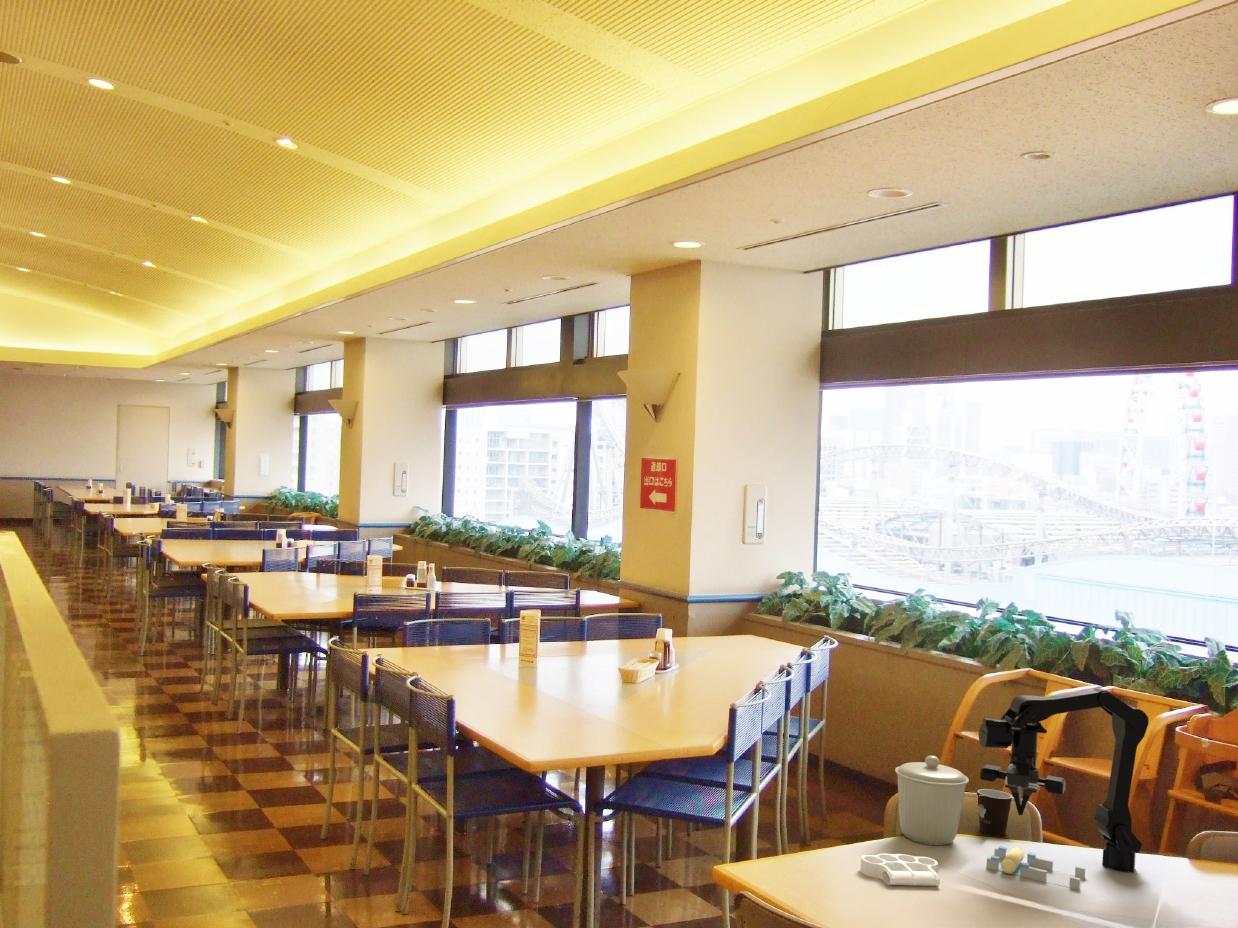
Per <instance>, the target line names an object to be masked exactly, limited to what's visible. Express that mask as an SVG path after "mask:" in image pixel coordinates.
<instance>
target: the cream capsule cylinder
mask: <svg viewBox="0 0 1238 928" xmlns="http://www.w3.org/2000/svg"><path fill="white" fill-rule="evenodd" d="M1024 858H1025V853H1024V850H1023V849H1021V848H1020V847H1012V848H1011V850H1009V852H1008V853H1007V854H1006V857H1005V858H1004V860H1003V861H1002V863H1001V868H1002V870H1003V871H1004V872H1003V873H1005V874H1008V875H1012V874H1011V873H1013V872H1014V871H1015V870H1016V868H1017V867H1018V866H1019V864H1020V863H1022V862H1023V860H1024Z"/></svg>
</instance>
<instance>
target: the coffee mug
mask: <svg viewBox="0 0 1238 928" xmlns="http://www.w3.org/2000/svg"><path fill="white" fill-rule="evenodd" d="M976 794H977V795H978V804H977V807H978V821H979V831H980V833H981V832H982V833H984V834H986V835H990V836H995V837H996V836H998V837H1001V836H1005V835H1006V833H1007V829H1008V828H1007V827H1008V821H1009V815H1010V811H1011V805H1012V798H1013V795H1012V794H1010V793H1008V792H1005V791H1002V790H996V789H991V788H990V789H988V788H983V789H981V788H980V789H977V791H976ZM979 795H985V796H979ZM986 795H988V796H986ZM989 796H991V797H989ZM995 797H1001V798H995Z"/></svg>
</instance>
